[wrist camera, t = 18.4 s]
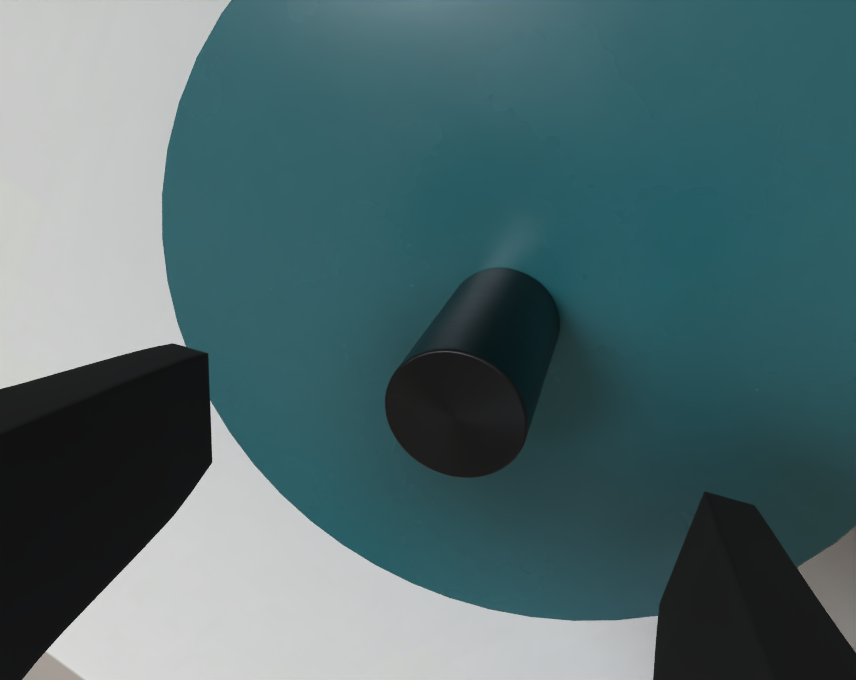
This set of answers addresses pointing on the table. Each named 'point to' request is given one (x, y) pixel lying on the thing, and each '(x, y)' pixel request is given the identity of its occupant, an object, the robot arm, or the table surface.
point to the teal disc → (527, 278)
